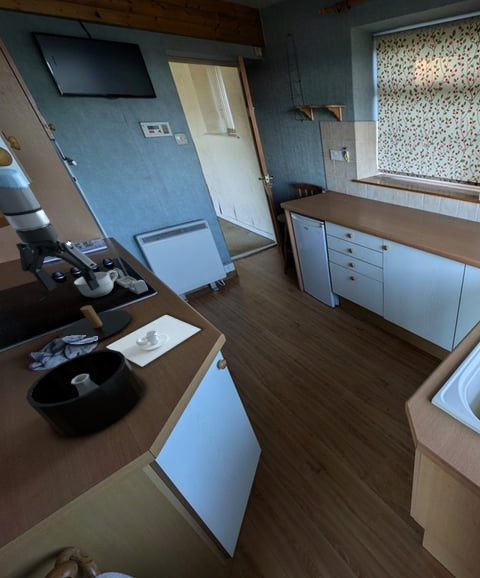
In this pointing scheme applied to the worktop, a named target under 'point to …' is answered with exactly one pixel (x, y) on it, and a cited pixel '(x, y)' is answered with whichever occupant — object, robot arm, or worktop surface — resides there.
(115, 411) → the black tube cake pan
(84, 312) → the lid
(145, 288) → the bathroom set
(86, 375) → the flask
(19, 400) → the worktop surface
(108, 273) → the teacup
